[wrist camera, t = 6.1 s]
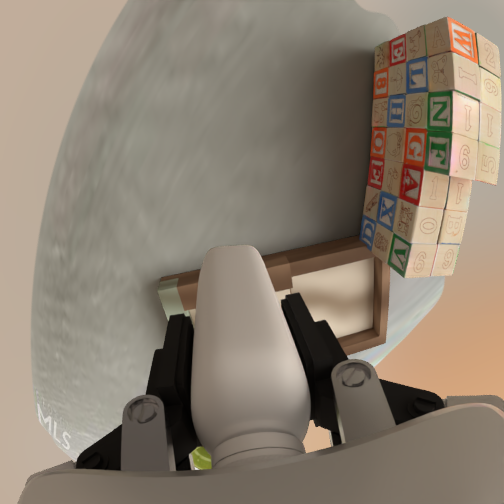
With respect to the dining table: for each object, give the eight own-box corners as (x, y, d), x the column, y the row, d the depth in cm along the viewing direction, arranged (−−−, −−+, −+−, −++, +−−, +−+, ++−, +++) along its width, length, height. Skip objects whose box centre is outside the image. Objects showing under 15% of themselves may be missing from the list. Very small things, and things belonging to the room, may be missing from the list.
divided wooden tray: (161, 277, 31) (157, 291, 28) (377, 231, 32) (390, 240, 29) (197, 372, 37) (196, 389, 34) (375, 329, 37) (385, 342, 35)
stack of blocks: (403, 242, 32) (472, 292, 21) (357, 241, 31) (421, 297, 20) (420, 61, 24) (500, 45, 13) (373, 45, 24) (448, 13, 12)
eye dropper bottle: (302, 265, 14) (443, 504, 3) (248, 351, 16) (291, 574, 5) (217, 227, 13) (241, 541, 2) (171, 324, 15) (145, 571, 4)
